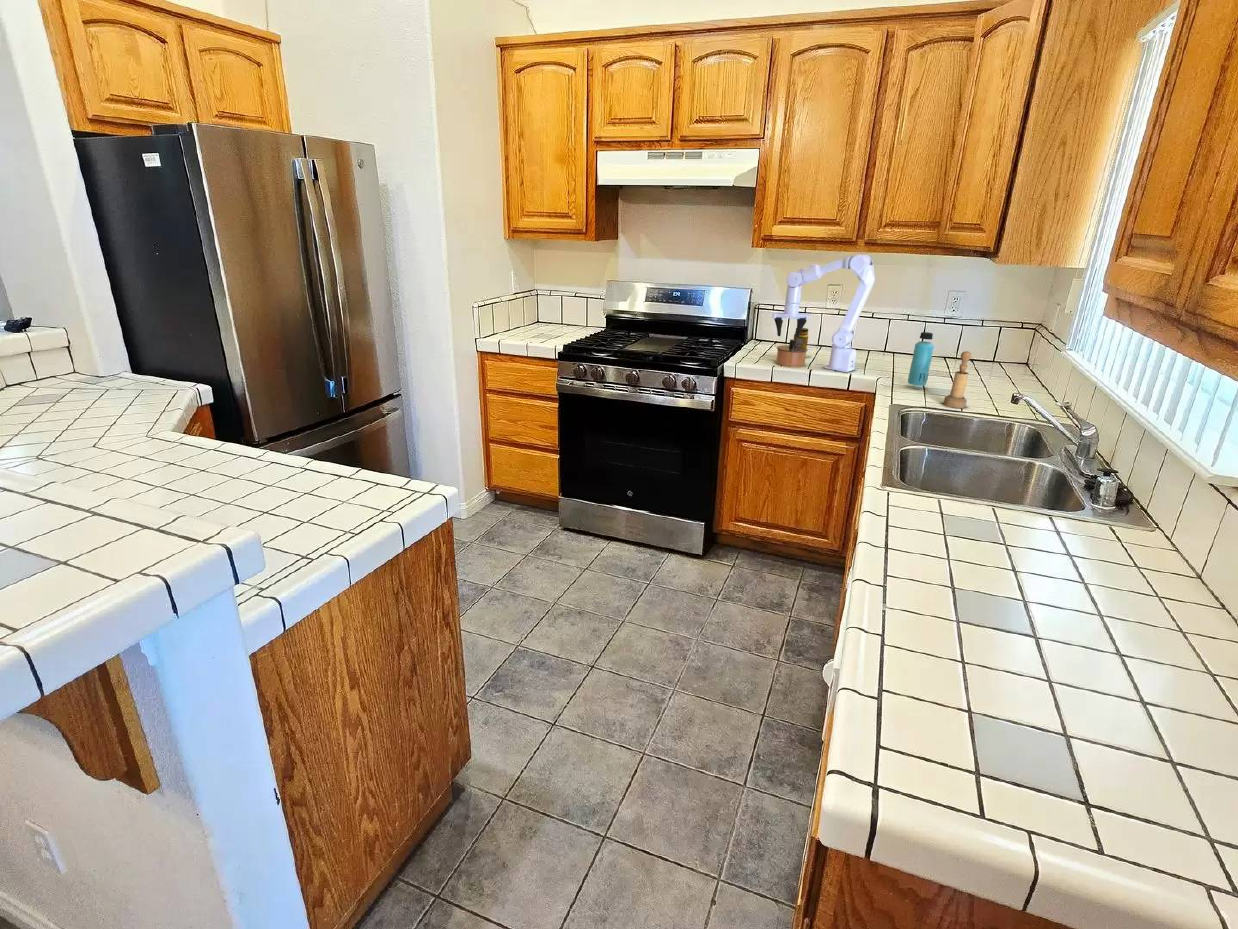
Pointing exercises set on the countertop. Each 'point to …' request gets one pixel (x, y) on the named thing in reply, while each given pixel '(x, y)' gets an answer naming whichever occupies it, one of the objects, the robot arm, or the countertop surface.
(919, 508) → the countertop surface
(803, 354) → the terracotta bowl
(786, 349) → the pot lid
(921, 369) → the beverage bottle
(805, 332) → the condiment
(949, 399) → the mortar and pestle
